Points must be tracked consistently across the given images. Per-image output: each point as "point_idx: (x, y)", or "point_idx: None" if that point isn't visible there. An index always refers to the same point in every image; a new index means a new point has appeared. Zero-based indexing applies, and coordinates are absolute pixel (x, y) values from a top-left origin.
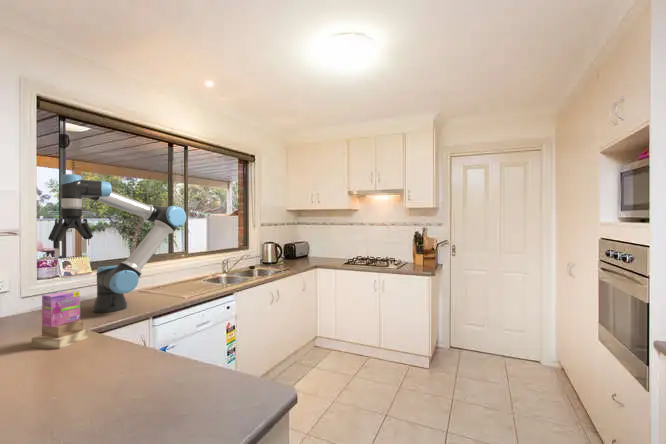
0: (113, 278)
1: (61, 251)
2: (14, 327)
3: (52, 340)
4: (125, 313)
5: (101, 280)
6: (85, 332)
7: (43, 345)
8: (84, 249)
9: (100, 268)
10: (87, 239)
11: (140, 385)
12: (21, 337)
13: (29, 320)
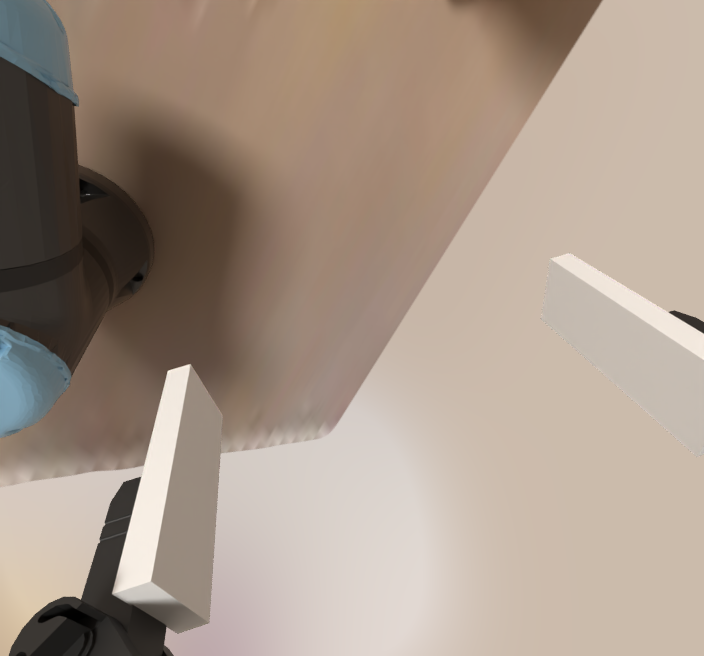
0: (21, 19)
1: (592, 282)
2: (397, 295)
3: None
4: None
5: (78, 275)
6: None
7: None
8: (202, 425)
9: (32, 366)
10: (131, 581)
11: None
12: (470, 147)
13: (334, 339)
